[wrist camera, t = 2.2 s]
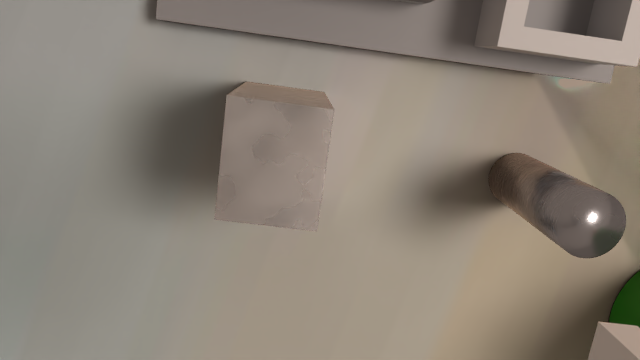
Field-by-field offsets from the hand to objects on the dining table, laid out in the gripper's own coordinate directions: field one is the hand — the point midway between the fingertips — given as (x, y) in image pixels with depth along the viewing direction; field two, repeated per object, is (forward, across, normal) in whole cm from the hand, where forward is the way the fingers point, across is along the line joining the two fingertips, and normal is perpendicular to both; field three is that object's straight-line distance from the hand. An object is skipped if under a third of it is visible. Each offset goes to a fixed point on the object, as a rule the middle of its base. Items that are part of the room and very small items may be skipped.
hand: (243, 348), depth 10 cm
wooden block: (+26, 0, 0) cm, 26 cm away
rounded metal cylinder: (+26, +16, -1) cm, 31 cm away
